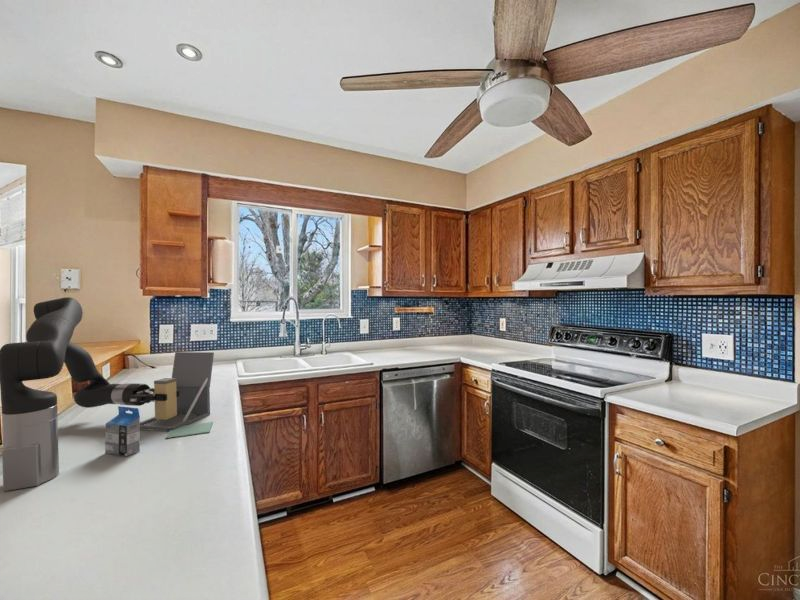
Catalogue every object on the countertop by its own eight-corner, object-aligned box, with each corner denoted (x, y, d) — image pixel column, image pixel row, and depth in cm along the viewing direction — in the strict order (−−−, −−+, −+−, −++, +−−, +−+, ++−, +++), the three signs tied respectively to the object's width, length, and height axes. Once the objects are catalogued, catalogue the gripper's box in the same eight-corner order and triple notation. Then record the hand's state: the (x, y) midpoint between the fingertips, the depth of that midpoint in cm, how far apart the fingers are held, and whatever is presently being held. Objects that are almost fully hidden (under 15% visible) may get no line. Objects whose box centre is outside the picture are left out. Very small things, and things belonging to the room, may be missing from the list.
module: (166, 419, 120) (165, 381, 120) (154, 419, 121) (153, 380, 121) (177, 415, 124) (176, 378, 124) (166, 414, 125) (165, 378, 125)
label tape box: (104, 453, 100) (103, 409, 100) (119, 447, 103) (118, 405, 103) (126, 457, 97) (125, 412, 97) (141, 451, 101) (140, 407, 101)
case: (173, 431, 116) (171, 361, 116) (131, 428, 119) (129, 360, 119) (215, 411, 135) (214, 352, 135) (178, 410, 138) (176, 351, 138)
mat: (209, 432, 114) (209, 431, 114) (165, 439, 109) (165, 437, 109) (213, 422, 123) (213, 421, 123) (172, 428, 118) (172, 427, 118)
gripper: (110, 388, 118) (154, 389, 115) (148, 379, 132) (188, 380, 129) (111, 411, 118) (154, 412, 115) (149, 399, 132) (189, 400, 129)
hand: (172, 395), depth 122 cm, fingers closed on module, 4 cm apart
